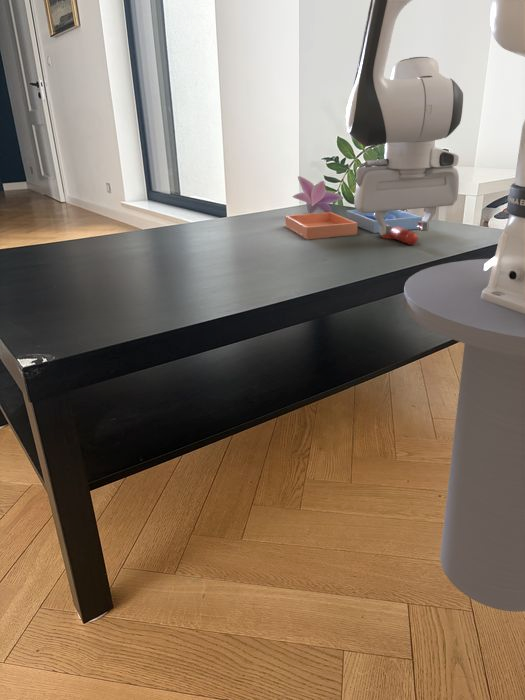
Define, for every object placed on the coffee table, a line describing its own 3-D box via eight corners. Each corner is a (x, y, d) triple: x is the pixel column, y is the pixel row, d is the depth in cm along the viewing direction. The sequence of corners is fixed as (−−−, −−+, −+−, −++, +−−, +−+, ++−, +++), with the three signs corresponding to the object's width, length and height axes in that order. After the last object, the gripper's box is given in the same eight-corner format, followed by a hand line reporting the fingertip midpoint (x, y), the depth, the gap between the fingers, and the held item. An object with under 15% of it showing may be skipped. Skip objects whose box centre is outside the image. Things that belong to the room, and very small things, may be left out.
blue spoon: (401, 226, 120) (402, 214, 119) (384, 227, 119) (385, 216, 118) (378, 217, 130) (378, 207, 129) (362, 219, 129) (363, 208, 128)
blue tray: (421, 228, 119) (422, 216, 118) (373, 233, 117) (374, 221, 116) (389, 217, 133) (389, 206, 132) (345, 221, 130) (346, 210, 129)
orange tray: (357, 234, 116) (357, 222, 115) (306, 239, 113) (306, 227, 112) (330, 222, 129) (330, 211, 128) (285, 226, 127) (285, 215, 126)
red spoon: (423, 245, 105) (424, 232, 104) (404, 247, 104) (405, 234, 103) (395, 234, 115) (396, 222, 114) (377, 235, 114) (378, 224, 113)
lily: (347, 223, 133) (351, 185, 134) (309, 209, 126) (314, 169, 127) (315, 232, 143) (319, 196, 143) (278, 219, 136) (283, 182, 137)
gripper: (364, 162, 96) (361, 240, 102) (466, 155, 101) (458, 230, 106) (349, 159, 102) (347, 234, 107) (447, 153, 106) (441, 225, 112)
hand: (403, 232), depth 107 cm, fingers open, 7 cm apart
